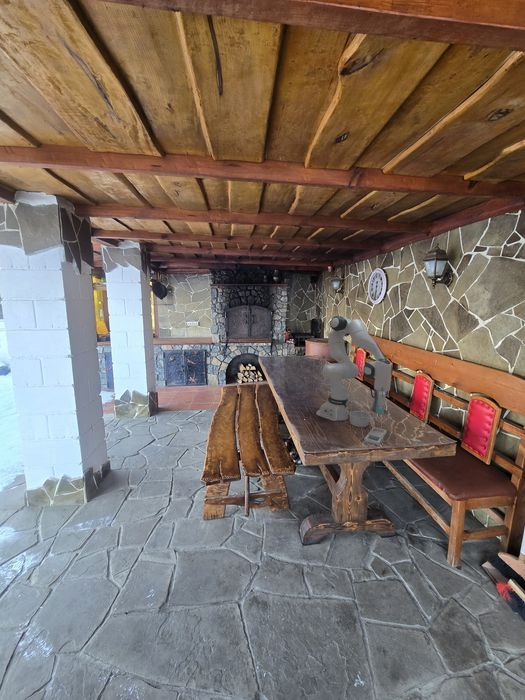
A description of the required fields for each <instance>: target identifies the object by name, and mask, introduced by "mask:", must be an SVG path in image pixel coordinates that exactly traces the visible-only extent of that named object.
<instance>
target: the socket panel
mask: <svg viewBox="0 0 525 700" xmlns="http://www.w3.org/2000/svg"><path fill="white" fill-rule="evenodd" d="M387 431H388V430H387V429H383V428H381V427H377V426H373V427H372V428H371V430H370V431H369V432H368V433H367V435H366V436H365V437H364V440H363V441H364V442H366V443H369V444H374V445H376V446H380V444H381V443H382V441H383V439H384V437H385V436H386V434H387Z"/></svg>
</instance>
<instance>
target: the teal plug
mask: <svg viewBox="0 0 525 700" xmlns="http://www.w3.org/2000/svg"><path fill="white" fill-rule="evenodd" d="M385 405H386V404H385ZM385 405H384V406H382V410H379V405H378V400H377V403H376V412H375V413H376V414H379V415H383V414H384V413H385V411H384V409H385V410H386V408H385V407H386V406H385Z"/></svg>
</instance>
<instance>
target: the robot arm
mask: <svg viewBox="0 0 525 700" xmlns="http://www.w3.org/2000/svg"><path fill="white" fill-rule="evenodd" d="M329 326H330V328H331V329H332V330H331V331H329V333H328V336H327V337H328V339H327V340H328V341H327V342H328V350H329V356H330V358H332V359H333V360H335V361H336V363H335V362H334V363H327V364H325V365H324V366H323V368H322V370H321V371H322V375H323V377H324V378H325V380H327V381H329V384H330V395H329V396H328V397H327V400H328V401H326V402H324V403H323V404H321V406H320V408H319V409H318V410H317V411H316V416H319V417H322V418H324V419H328V420H329V421H334V422H335V421H336V422H337V421H347V420H348V419H349V414H348V406H349V398H348V393H349V392H348V391H349V388H348V387H347V385H346V384H344V383H342V382H341V381H342V380H346V379H347V380H349V379H350V380H351V379H354V378H357V377H358V376H359V373H360V368H359V367H358V365H357V364H356V363H354V362H353V361H352V360H351V359H350V357H349V356H348V354H347V349H346V346H345V345H346V344H345V339H344V338H345V337H349V336H350V338H351V341H352V343H353V344H354V346H355V347H358V348H361V349H364V350H366V351H369V352H370V353H371V354H372V355H373V357H374V359H375V361H371V362H366V363H365V364H364V366H363V373H364V376H366V377H367V378H374V384H373V386H374V388H375V389H376V391H377V396H378V405H379V410H382V406H384V405H386V398H385V396H386V394H385V393H386V392H387V391H390V389H391V377H392V373H393V365H392V363H391V361H390V360H389V359H387V357H386V356H385V354H384V352H383V351H382V349H381V348H380V346H379V344H378V343H377V342H376V340H374V339H373V338H372V337H371V335H370V334H369V332H368V329H367V328H366V326H365V324H364V323H363V321H361V320H360V319H359V318H358V319H357V318H356V319H350V318H348V317H345V316H340V315H336V316H333V317H332V318H331V320H329ZM386 397H387V396H386Z"/></svg>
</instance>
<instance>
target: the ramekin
mask: <svg viewBox="0 0 525 700" xmlns="http://www.w3.org/2000/svg"><path fill="white" fill-rule="evenodd" d="M348 417H349V423H350V425H352V426H354V427H356V428H366V427H368V426H369V423H370V418H371V415H370V414H369V413H367V412H365V411H361V410H360V411H359V410H353V411H350V412H349V414H348Z"/></svg>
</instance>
